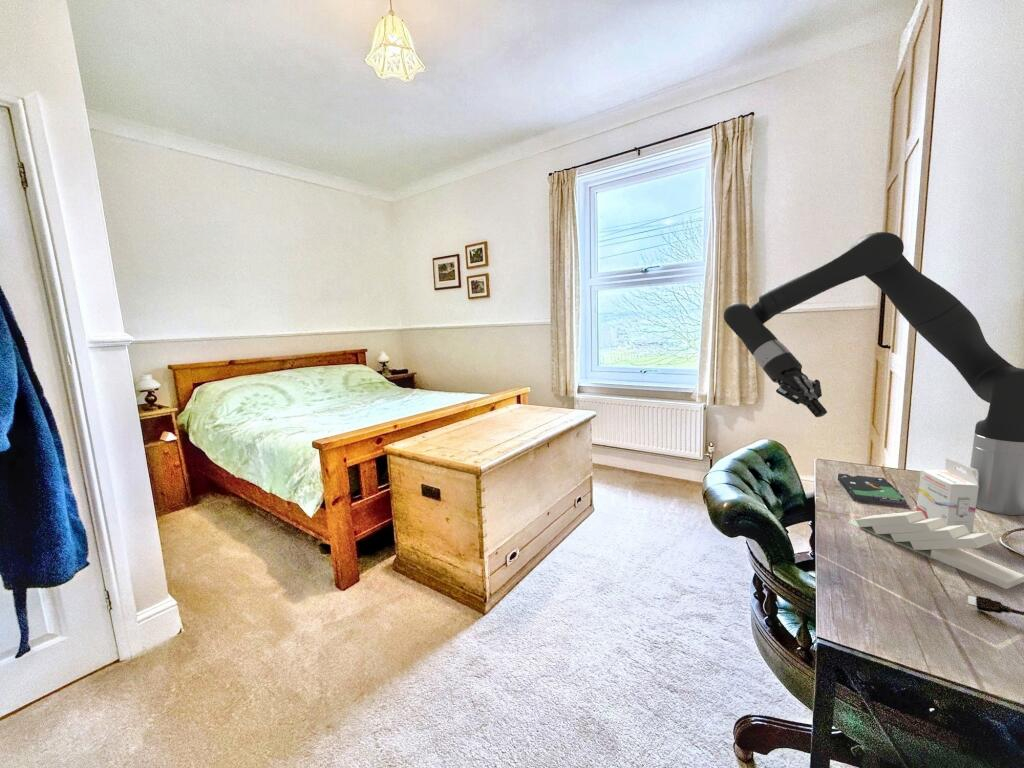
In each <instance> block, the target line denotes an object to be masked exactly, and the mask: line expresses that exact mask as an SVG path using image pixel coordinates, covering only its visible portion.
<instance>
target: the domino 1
mask: <svg viewBox="0 0 1024 768" xmlns="http://www.w3.org/2000/svg"><path fill="white" fill-rule="evenodd" d="M924 519H926V518H925V516H924V514H923V512H922V511H916V510H915V511H905V512H896V513H893V512H892V513H883V514H873V515H868V516H865V517H864V516H863V517H860V518H857V519H855V520H856V522H857V524H858V526H859V527H869V526H884V525H898V524H910V523H914V522H917V521H921V520H924Z"/></svg>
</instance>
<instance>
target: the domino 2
mask: <svg viewBox="0 0 1024 768" xmlns="http://www.w3.org/2000/svg"><path fill="white" fill-rule="evenodd" d="M946 526H947V525H946V523H945V521H944V520H943V518H932V519H924V520H921V521H917V522H914V523H910V524H898V525H884V526H872V527H873V529H874V531H875V533H876V534H891V533H908V532H926V531H933V530H936V529H939V528H943V527H946Z"/></svg>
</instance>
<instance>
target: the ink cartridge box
mask: <svg viewBox="0 0 1024 768" xmlns="http://www.w3.org/2000/svg"><path fill="white" fill-rule="evenodd" d="M957 468H959V469H962V470H963V471H965V472H963V471H962V470H959V469H957ZM919 478H920V479H919V484H918V486H919V487H918V494H917V495H918V496H917V502H916V509H915V511H922V512H923V514H924V516H925V518H926V519H932V518H943V520H944V521H945V523H946V525H947V526H955V525H965V526H966V527H967V529H968V531H969V533H970V534H973V533H974V532H973V531H974V525H975V515H976V509H977V507H976V503H977V496H978V489H979V485H978V480H979V472H978V470H976V469H973V468H971V467H970V465H969V466H968V465H966V464H963V463H962V462H959V461H957V460H954V459H952V458H949V457H946V458H945V469H920V476H919Z"/></svg>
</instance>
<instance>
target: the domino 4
mask: <svg viewBox="0 0 1024 768" xmlns="http://www.w3.org/2000/svg"><path fill="white" fill-rule="evenodd" d="M995 542H996V540H995V539H994V538H993V536H992V534H991V532H977V533H976V532H975V533H972V534H968V535H965V536H961V537H958V538H955V539H946V540H925V541H910V543H911V544H912V546H913V548H914V550H929V549H958V548H959V549H979V548H982V547H985V546H988V545H991V544H994V543H995Z"/></svg>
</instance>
